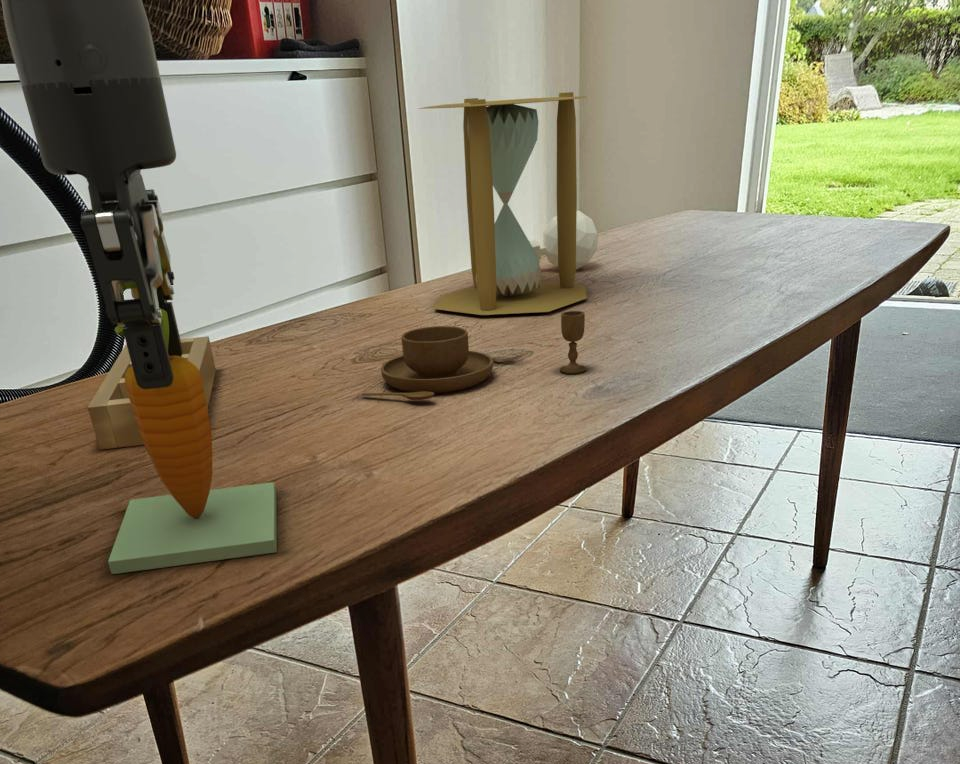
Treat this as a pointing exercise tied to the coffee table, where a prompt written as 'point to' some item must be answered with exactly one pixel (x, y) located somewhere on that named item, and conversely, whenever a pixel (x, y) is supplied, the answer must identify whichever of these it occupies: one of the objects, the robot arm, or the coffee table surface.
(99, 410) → the rack
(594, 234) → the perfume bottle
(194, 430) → the carrot
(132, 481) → the coffee table surface
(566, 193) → the hourglass
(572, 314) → the place setting
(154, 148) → the robot arm
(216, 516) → the mat
